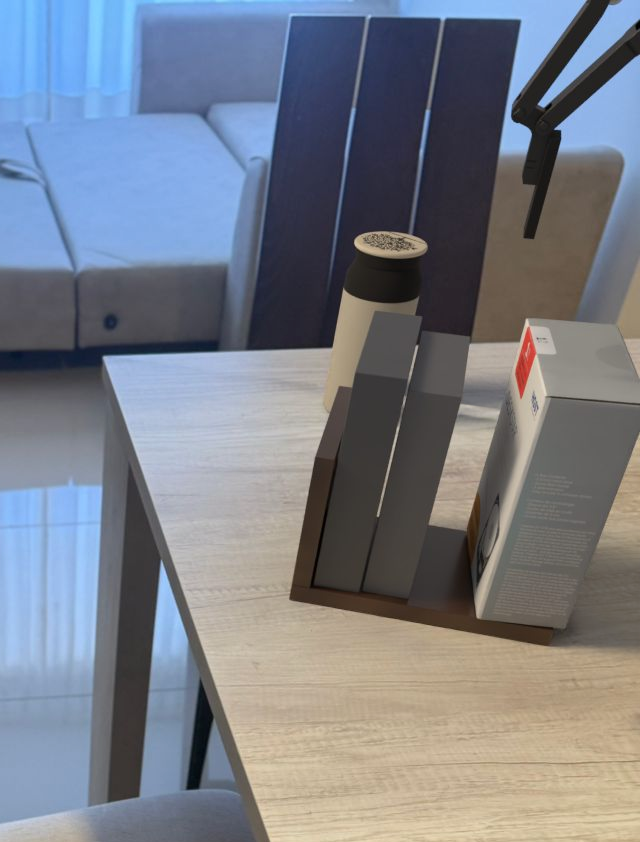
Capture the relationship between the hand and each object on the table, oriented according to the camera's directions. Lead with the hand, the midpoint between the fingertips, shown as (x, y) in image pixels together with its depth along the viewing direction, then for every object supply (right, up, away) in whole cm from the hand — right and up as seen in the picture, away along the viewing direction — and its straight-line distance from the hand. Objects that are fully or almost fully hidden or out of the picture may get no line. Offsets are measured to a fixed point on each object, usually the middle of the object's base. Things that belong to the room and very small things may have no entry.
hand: (626, 243), depth 84 cm
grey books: (-13, -18, +22) cm, 31 cm away
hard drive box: (-1, -21, +19) cm, 28 cm away
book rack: (-8, -20, +22) cm, 31 cm away
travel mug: (-6, +4, +48) cm, 49 cm away
